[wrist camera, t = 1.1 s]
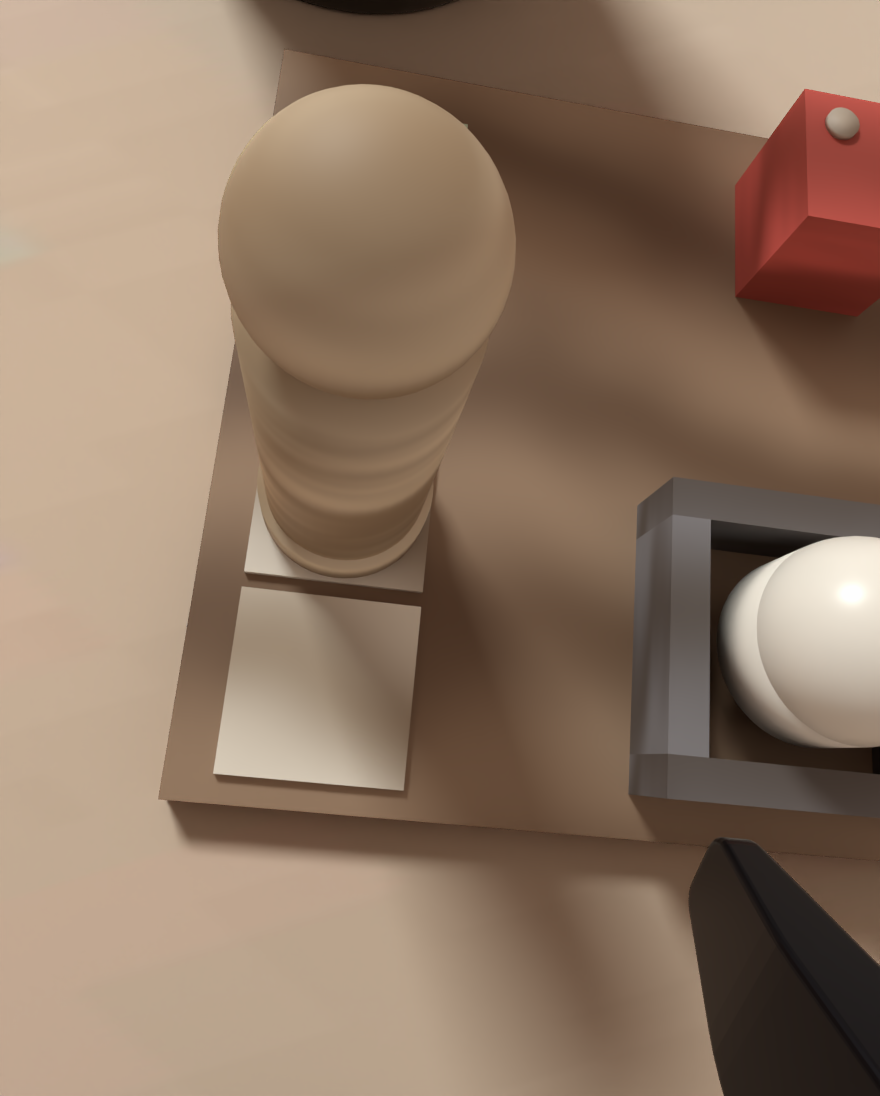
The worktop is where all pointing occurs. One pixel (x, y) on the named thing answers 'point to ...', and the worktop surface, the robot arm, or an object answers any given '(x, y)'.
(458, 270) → the pawn
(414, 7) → the jar
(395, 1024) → the worktop surface
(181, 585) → the worktop surface
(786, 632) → the dome
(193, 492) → the worktop surface
